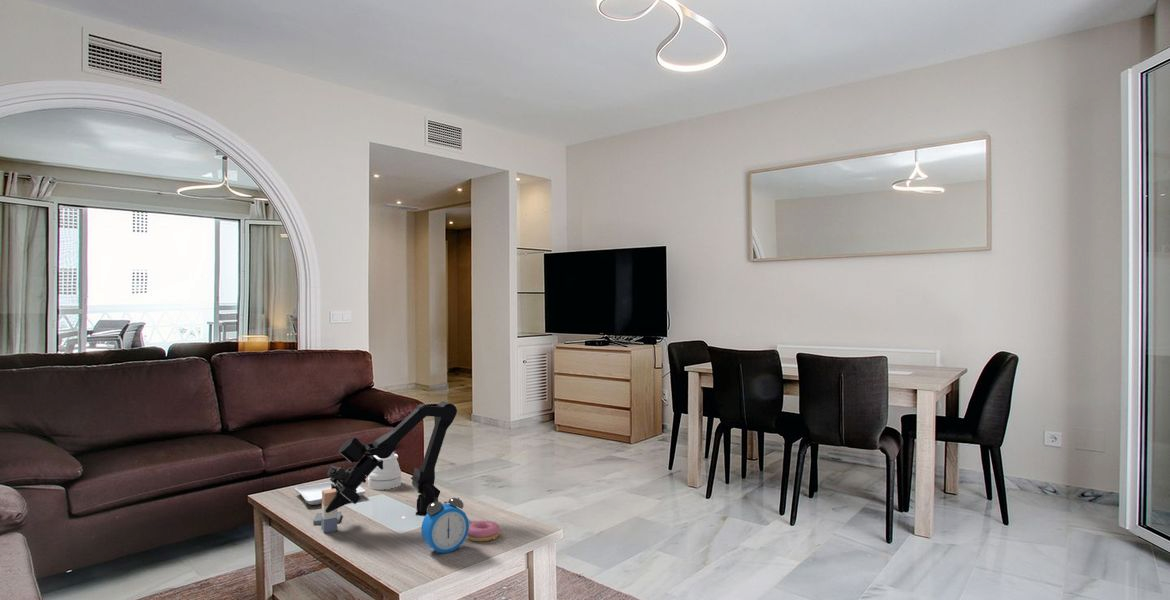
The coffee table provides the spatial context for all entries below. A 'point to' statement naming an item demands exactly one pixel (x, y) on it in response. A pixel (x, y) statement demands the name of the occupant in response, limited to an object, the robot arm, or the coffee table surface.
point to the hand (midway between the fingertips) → (324, 510)
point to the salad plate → (318, 492)
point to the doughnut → (483, 531)
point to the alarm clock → (445, 525)
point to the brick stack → (329, 518)
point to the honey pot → (386, 474)
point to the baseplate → (319, 518)
